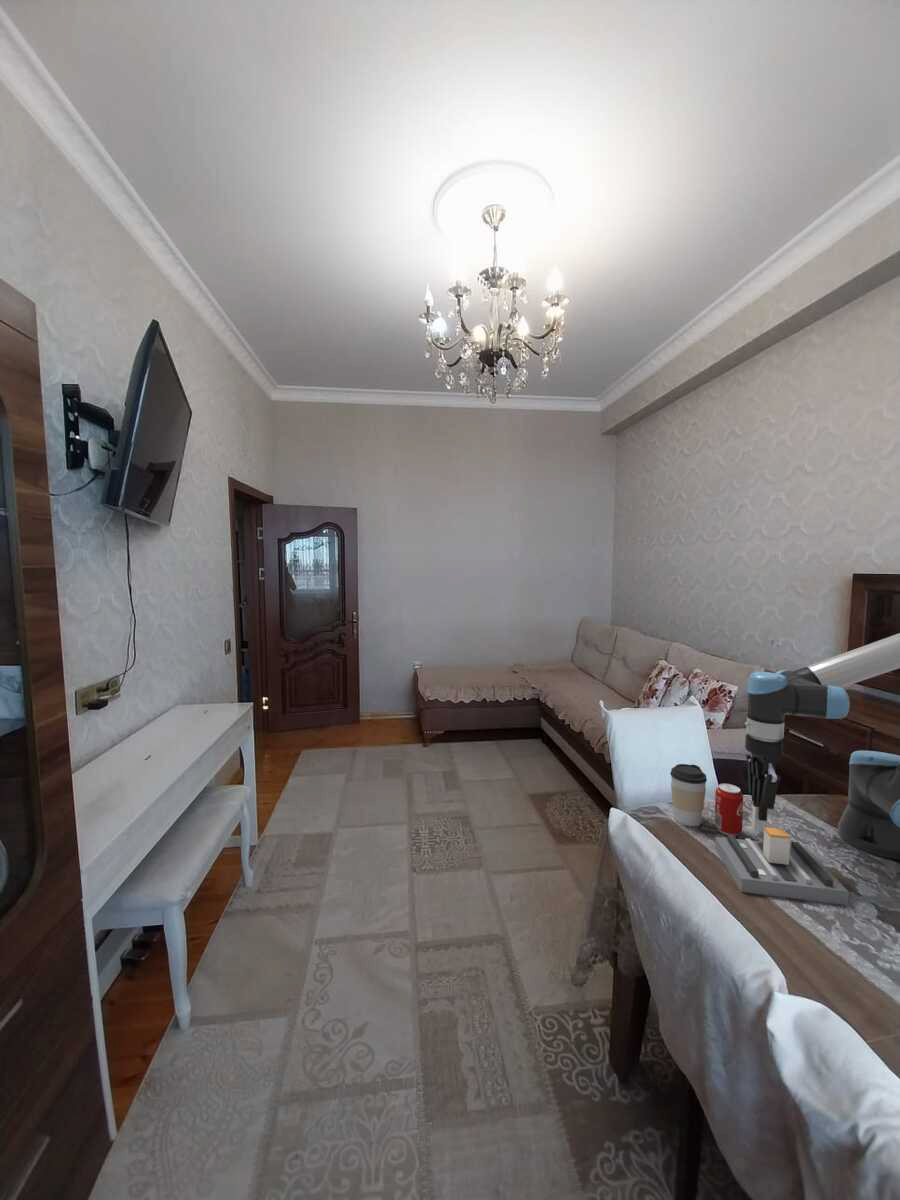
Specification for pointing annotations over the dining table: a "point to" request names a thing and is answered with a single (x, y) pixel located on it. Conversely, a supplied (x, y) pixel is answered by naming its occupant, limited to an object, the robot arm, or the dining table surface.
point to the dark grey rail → (743, 856)
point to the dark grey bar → (812, 864)
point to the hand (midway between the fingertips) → (759, 830)
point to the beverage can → (728, 809)
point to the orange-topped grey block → (776, 845)
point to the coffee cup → (688, 793)
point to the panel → (779, 874)
